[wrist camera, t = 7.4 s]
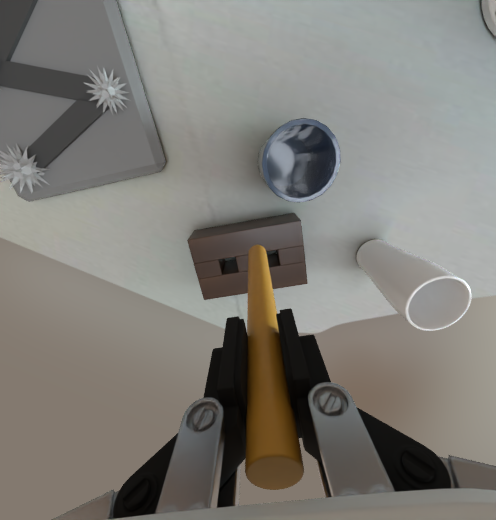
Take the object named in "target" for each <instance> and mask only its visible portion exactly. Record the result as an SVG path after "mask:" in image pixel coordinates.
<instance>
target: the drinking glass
mask: <svg viewBox="0 0 496 520" xmlns="http://www.w3.org/2000/svg"><path fill="white" fill-rule="evenodd" d="M356 259H357V263H358V265H359V266H360V268H361V269H362V270H364V272H365V273H366V274H367V275H368V277H369V278H370V279H371V280H372V282H373V283H374V284H375V286H376V287H377V288H378V289H379V291H380V292H381V293H382V295H383V296H384V297H385V298H386V300H387V301H388V302H389V303H390V305H391V306H392V307H393V308H394V309H395V310H396V311H397V312H398V313H399V314H400V315H401V316H402V317H403V318H405V319H406V320H407V321H408V322H409V323H410V324H411V325H412V326H414V327H416V328H418V329H421V330H425V331H434V330H440V329H443V328H445V327H448V326H450V325H452V324H453V323H455V322H457V321H458V320H459V319H460V318H461V317H462V316H463V315H464V314H465V313H466V311H467V309H468V308H469V305H470V303H471V290H470V288H469V286H468V284H467V283H466V282H465V281H464V280H462V279H461V278H459V277H457V276H456V275H454V274H453V273H451V272H450V271H448V270H446V269H445V268H443V267H441V266H439V265H437V264H435V263H433V262H431V261H429V260H426V259H424V258H422V257H419V256H417V255H414V254H412V253H410V252H407V251H405V250H402V249H400V248H398V247H395V246H393V245H391V244H389V243H387V242H385V241H383V240H380V239H374V240H370V241H367V242H366V243H364V244H363V245H362V246H361V247H360V248H359V250H358V252H357V256H356Z"/></svg>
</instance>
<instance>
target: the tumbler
mask: <svg viewBox="0 0 496 520" xmlns="http://www.w3.org/2000/svg"><path fill="white" fill-rule="evenodd" d="M339 166H340V147H339V145H338V142H337V139H336V137H335V135H334V134H333V133H332V132H331V130H330V129H329V128H328V127H327V126H326V125H324V124H322V123H320V122H319V121H317V120H313V119H306V118H301V119H296V120H291V121H289V122H287V123H286V124H284V125H282V126H281V127H279V128H278V129H277V130H276V131H275V132H274V133H273V134H272V135H271V136H270V137H269V138H268V139H267V140H266V142H265V143H264V144H263V145H262V147H261V149H260V152H259V155H258V169H259V172H260V174H261V176H262V179H263V180H264V181H265V183H266V184H267V185H268V187H269V188H270V189H271V190H272V191H273V192H274V193H275V194H276V195H277V196H279V197H281V198H283V199H285V200H287V201H291V202H305V201H310V200H312V199H314V198H316V197H318V196H320V195H322V194H323V193H324V192H325V191H326V190H327V189H328V188H329V187H330V186H331V185H332V183H333V181H334V179H335V178H336V176H337V174H338V170H339Z"/></svg>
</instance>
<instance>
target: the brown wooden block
mask: <svg viewBox="0 0 496 520" xmlns="http://www.w3.org/2000/svg"><path fill="white" fill-rule="evenodd" d="M188 244H189V248H190V251H191V255H192V258H193V262H194V265H195V269H196V273H197V276H198V280H199V283H200V287H201V290H202V294H203V298H204V300H206V299H213V298H219V297H225V296H232V295H238V294H245V293H248V252H249V249H250V248H251V247H252V246H254V245H261V246H263V247H264V248H265V250H266V251H272V250H276V253H277V254H271V255H267V259H268V265H269V271H270V277H271V282H272V288H273V289H276V288H283V287H289V286H295V285H302V284H307V274H306V265H305V255H304V246H303V235H302V225H301V220H300V219H299V218H298V217H297V215H296V214H295V213H291V214H285V215H280V216H274V217H268V218H263V219H257V220H251V221H246V222H240V223H234V224H229V225H223V226H217V227H212V228H206V229H200V230H195V231H194V232H193V234H192V235H191V236H190V238H189V239H188ZM231 257H236V260H235V261H229V262H225V260H224V259H225V258H231Z"/></svg>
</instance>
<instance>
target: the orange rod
mask: <svg viewBox="0 0 496 520" xmlns="http://www.w3.org/2000/svg"><path fill="white" fill-rule="evenodd" d="M276 314H277V311H276V305H275V300H274V294H273V288H272V282H271V277H270V271H269V265H268V259H267V253H266V250H265V248H264V247H263V246H261V245H254V246H252V247H251V248H250V249H249V252H248V320H247V336H248V355H247V413H246V462H245V464H246V465H245V473H246V476H247V478H248V480H249V481H250V482H251V483H252V484H254V485H255V486H257V487H260V488H263V489H270V490H278V489H284V488H288V487H291V486H293V485H295V484H296V483H297V482H299V481H300V480H301V478H302V476H303V473H304V467H303V461H302V455H301V450H300V444H299V438H298V432H297V426H296V421H295V415H294V411H293V409H292V408H291V402H290V396H289V390H288V385H287V379H286V372H285V366H284V360H283V354H282V348H281V342H280V336H279V330H278V324H277V318H276Z"/></svg>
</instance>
